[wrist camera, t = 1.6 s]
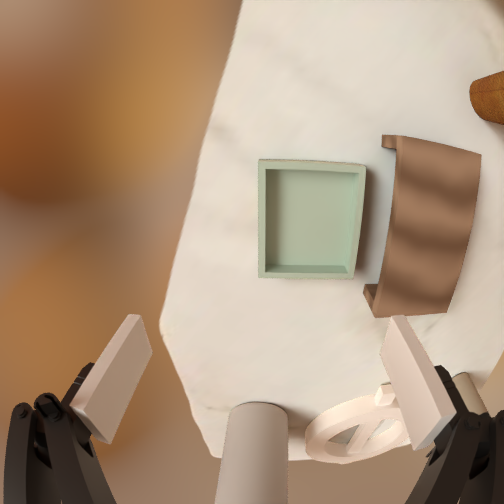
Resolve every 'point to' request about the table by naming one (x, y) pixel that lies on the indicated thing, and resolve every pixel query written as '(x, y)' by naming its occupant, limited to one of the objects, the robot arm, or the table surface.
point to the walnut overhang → (425, 227)
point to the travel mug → (470, 395)
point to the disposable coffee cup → (489, 97)
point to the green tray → (309, 218)
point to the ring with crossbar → (352, 414)
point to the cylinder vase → (255, 456)
